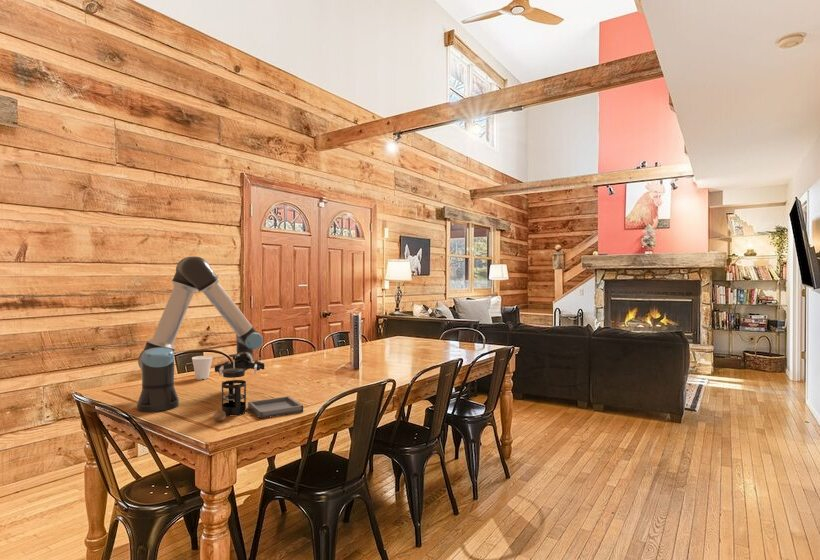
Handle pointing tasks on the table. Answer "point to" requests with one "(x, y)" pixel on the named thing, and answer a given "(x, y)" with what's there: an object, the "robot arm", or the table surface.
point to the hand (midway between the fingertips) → (237, 371)
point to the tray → (275, 406)
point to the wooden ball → (220, 415)
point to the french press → (235, 403)
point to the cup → (202, 366)
